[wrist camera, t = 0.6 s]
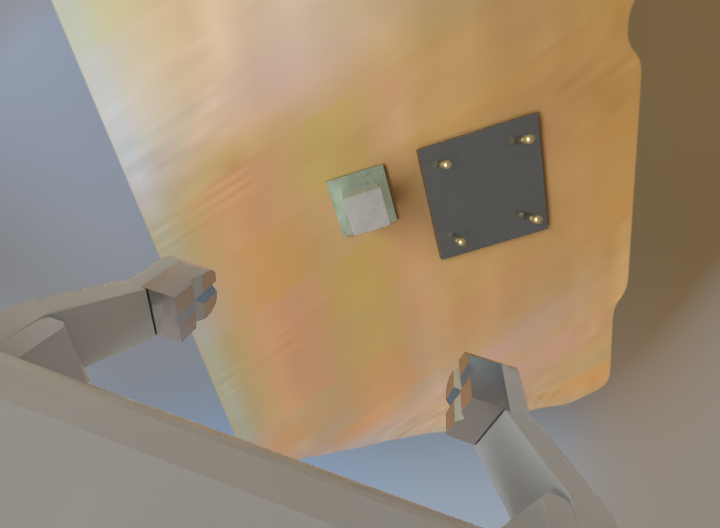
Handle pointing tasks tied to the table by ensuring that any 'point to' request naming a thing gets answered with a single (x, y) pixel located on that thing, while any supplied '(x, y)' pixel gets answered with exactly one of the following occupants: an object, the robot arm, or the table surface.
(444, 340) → the table surface
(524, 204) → the mounting plate
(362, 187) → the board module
